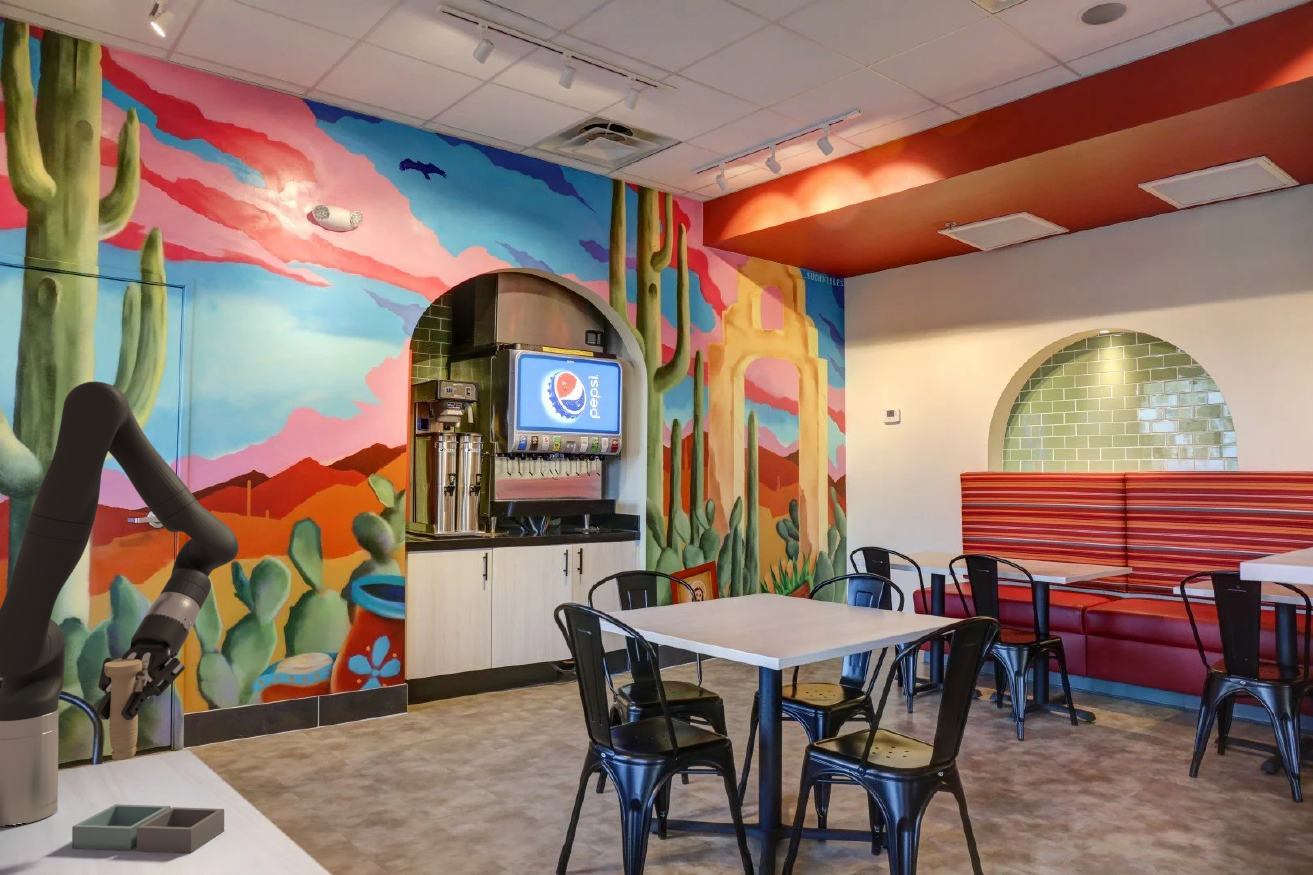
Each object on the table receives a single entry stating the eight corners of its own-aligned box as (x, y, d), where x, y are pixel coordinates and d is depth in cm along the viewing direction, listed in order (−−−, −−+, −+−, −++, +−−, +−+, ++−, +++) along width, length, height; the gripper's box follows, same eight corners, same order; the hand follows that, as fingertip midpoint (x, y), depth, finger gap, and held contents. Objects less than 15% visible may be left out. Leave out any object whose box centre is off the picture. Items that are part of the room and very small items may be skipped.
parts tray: (72, 848, 133) (72, 826, 133) (115, 824, 142) (115, 804, 142) (130, 850, 132) (130, 828, 132) (170, 826, 141) (170, 806, 141)
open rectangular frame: (136, 850, 132) (136, 827, 132) (172, 829, 140) (172, 807, 140) (191, 853, 131) (191, 829, 131) (224, 831, 139) (224, 808, 139)
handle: (112, 766, 134) (112, 668, 134) (100, 757, 138) (99, 663, 139) (147, 757, 137) (146, 662, 138) (134, 749, 142) (133, 657, 142)
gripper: (117, 612, 147) (59, 704, 134) (194, 612, 145) (142, 705, 132) (140, 637, 152) (86, 729, 139) (214, 637, 150) (167, 730, 137)
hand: (114, 717), depth 136 cm, fingers closed on handle, 3 cm apart
